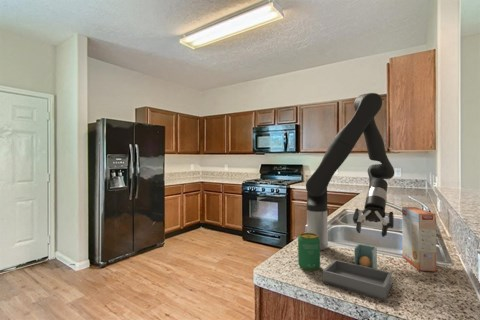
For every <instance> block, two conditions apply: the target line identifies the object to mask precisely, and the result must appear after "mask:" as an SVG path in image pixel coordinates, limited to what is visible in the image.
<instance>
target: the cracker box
mask: <svg viewBox="0 0 480 320" xmlns="http://www.w3.org/2000/svg"><path fill="white" fill-rule="evenodd" d="M401 208H402V209H401V215H402V217H401V218H402V219H401V220H402V222H401V223H402V224H401V225H402V226H401V227H402V231H401V232H402V257H403V258H404V259H405V260H406V261H407V262H409V263H410V264H411V265H412V266H413V267H415V268H416V269H417V270H418V271H421V272H423V271H424V272H434V273H437V222H436V221H437V216H436V215H437V214H436V213H433V212H430V211H428V210H426V209H423V208H419V207H416V206H415V207H414V206H403V207H401Z"/></svg>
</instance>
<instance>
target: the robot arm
mask: <svg viewBox="0 0 480 320" xmlns="http://www.w3.org/2000/svg"><path fill="white" fill-rule="evenodd" d="M382 106H383V99H382V96H381V94H378V93H375V92H369V93H364V94H360V95H358V96H357V97H356V98H355V100H354V102H353V108H354V111H355V112H354V114H353V116H352V117H351V119H350V120H349V121H348V123H346V124H345V125H344V126H343V127H342V128H341V129H340V130H339V131H338V132H337V134H336V135H335V136H334V138H333V139H332V140H331V143H329V146H328V148H327V149H326V151H325V153H324V155H323V157H322V160H321V162H320V163H319V165H318V166H317V168H316V169H315V171H314V172H313V173H312V174H311V176H310V177H309V178H308V179H307V180H306V183H305V190H306V194H307V195H306V196H307V197H306V225H304V226H305V227H304V229H305V232H304V233H314V234H317V235H318V237H319V239H320V251H324V250H327V249H328V248H329V242H328V241H329V236H328V235H329V231H328V226H329V225H328V186H329V184H330V182H331V181H332V178H333V176H334V174H335V173H336V172H337V170H338V169H339V168H340V167H341V166H342V165H343V163H344V162H345V161H346V160H347V158H348V157H349V155H350V154H351V153H352V150H353V149H354V147H355V146H356V145H357V143H358V141H359V140H360V138H361V137H362V134H363V136H364V141H365V145H366V150H367V154H368V159H369V160H371V161H374V162H379V163H377V164H371V165H369V166H368V168H367V175H368V180H369V185H368V190H367V193H366V197H365V202H364V208H363V209H362V210H361V209H359V208H357V207H356V208H355V210H354V214H353V216H352V221H353V223H354V224H356V226H355V230H356V232H357V234H361V231H362V225H363V224H366V223H367V222H370V223H372V222H373V223H380V225H381V226H382V229H381V237H383V238H385V236H388V234H387V233H388V229H394V221H395V220H394V219H395V218H394V212H393V211H390V212H386V208H387V207H386V206H387V192H388V182H387V180H391V179H392V178H393V177H394V176H395V169H394V166H393V164H392V163H391V162H390V160H389V158H388V156H387V151H386V148H385V142H384V139H383V137H382V135H381V132H380V130H379V129H378V126H377V124H376V121H375V120H376V119H375V117H376V115H377V114H378V113H379V112H380V110H381V108H382ZM359 216H360V218H359ZM385 217H387V219H388V222H386V220H385V219H384V218H385Z"/></svg>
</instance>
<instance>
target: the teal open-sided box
mask: <svg viewBox="0 0 480 320" xmlns="http://www.w3.org/2000/svg"><path fill="white" fill-rule="evenodd" d="M363 256H366V257H368V258H369V259H370V260H371V262H372V264H371V267H370V268H374V269H378V258H377V257H378V251H377V246H371V245H367V244H363V243H362V244H361V243H358V244H357V245H356V246H355V247H354V264H357V265H360V263H359V260H360V258H361V257H363Z"/></svg>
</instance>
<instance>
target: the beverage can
mask: <svg viewBox="0 0 480 320" xmlns="http://www.w3.org/2000/svg"><path fill="white" fill-rule="evenodd" d="M297 253H298V254H297V255H298V256H297V258H298V266H299V268H300V269H301V268H302V270H303V269H304V270H303V271H307V270H308V271H307V272H314V271H315V270H316V271H318V270H319V269H320V267H321V250H320V239H319V237H318V235H317V234H314V233H305V232H302V233H299V236H298V238H297Z"/></svg>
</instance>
